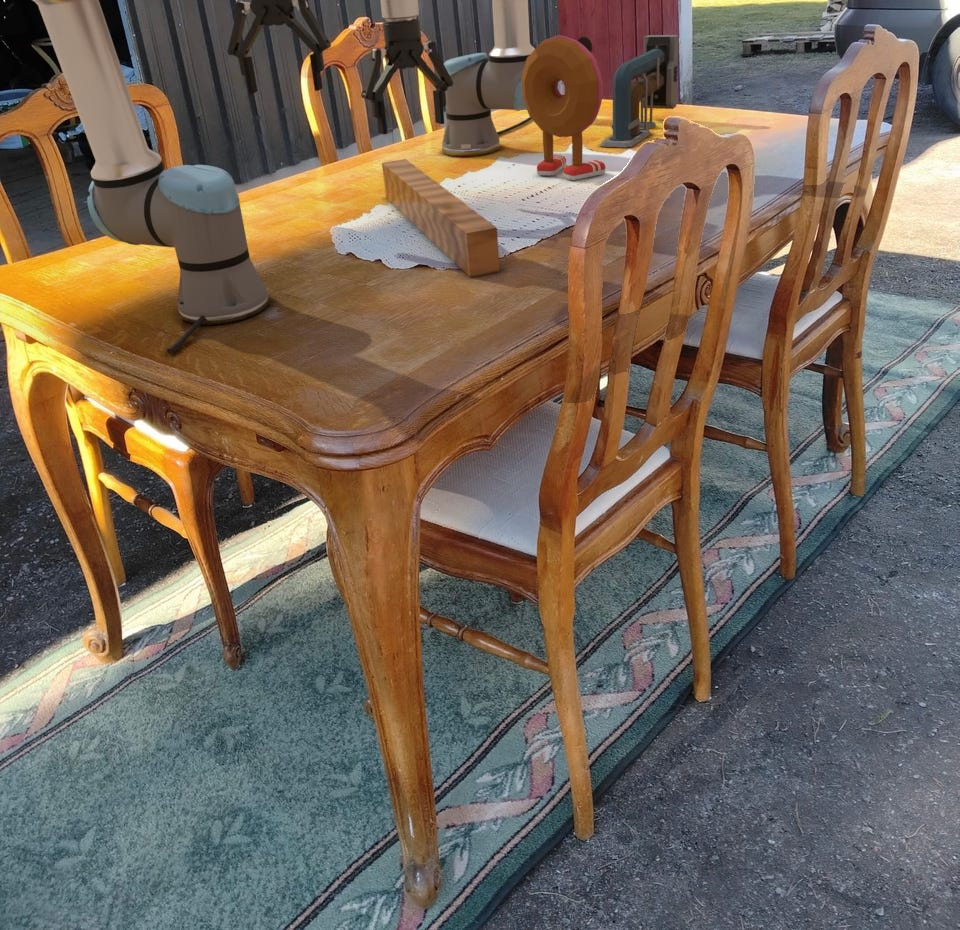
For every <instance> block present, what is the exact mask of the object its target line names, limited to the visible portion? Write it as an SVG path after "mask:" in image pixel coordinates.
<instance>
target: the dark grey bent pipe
mask: <svg viewBox="0 0 960 930" xmlns="http://www.w3.org/2000/svg"><path fill="white" fill-rule="evenodd" d="M678 59H679V34H651V35H649V34H648V35H645V36H644V37H643V53H642V54H639V55H638V56H636V57H633V58H631V59H629V60H627V61H625V62H623V63H621V64H620V66H619V67H617V69H616V70H615V72H614V73H613V74H614V75H613V79H612V123H611V129H612V135H610V136H608V137H606V138H605V139H603V140H601V142H600V144H599V146H600V147H604V148H605V147H606V148H608V147H609V148H610V147H611V148H632V147H633V146H635V145H637V144H638V143H640V142H641V141H643V140H644V139H646V138H647V137H649V136H651V135H652V133H651V131H650V129H653V128H655V127H656V126H657V124H656V122H654V121H653V111H654V109H659V110H662V109H665V110H673V109H675V108H676V107H677V100H678V98H677V96H678V66H679V65H678V63H679V61H678ZM637 78H640V79H638V80H636V81H634V82H632V81H633V80H635V79H637ZM648 109H649V121H648Z"/></svg>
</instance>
